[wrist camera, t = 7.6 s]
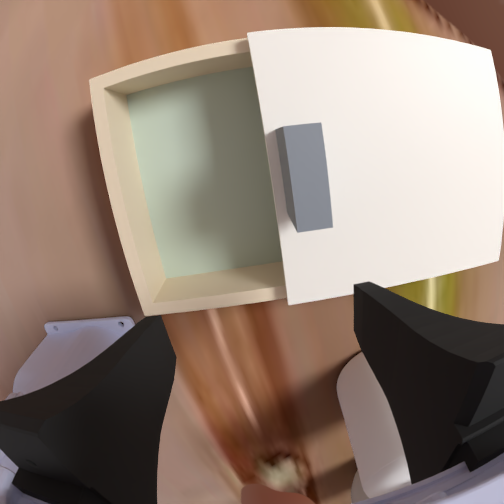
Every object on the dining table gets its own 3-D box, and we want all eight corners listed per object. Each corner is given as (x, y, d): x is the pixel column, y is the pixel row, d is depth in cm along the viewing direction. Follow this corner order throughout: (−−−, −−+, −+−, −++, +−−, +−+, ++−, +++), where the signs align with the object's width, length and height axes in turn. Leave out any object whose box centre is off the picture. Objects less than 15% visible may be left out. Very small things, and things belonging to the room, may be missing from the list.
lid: (287, 300, 17) (296, 340, 13) (247, 36, 12) (247, 6, 8) (494, 257, 16) (527, 280, 13) (485, 51, 11) (523, 43, 8)
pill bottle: (338, 346, 23) (397, 513, 9) (422, 333, 23) (509, 462, 9) (329, 408, 26) (362, 546, 12) (403, 394, 26) (457, 512, 12)
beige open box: (160, 286, 21) (144, 316, 17) (117, 88, 16) (89, 79, 13) (370, 254, 21) (393, 278, 17) (348, 51, 16) (371, 33, 12)
